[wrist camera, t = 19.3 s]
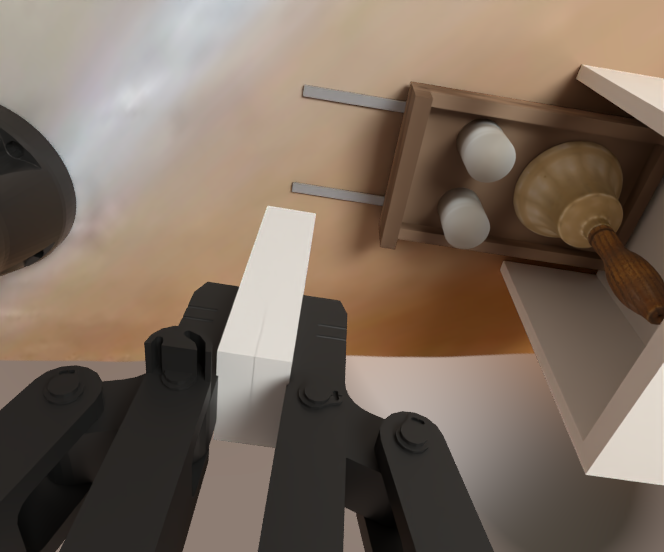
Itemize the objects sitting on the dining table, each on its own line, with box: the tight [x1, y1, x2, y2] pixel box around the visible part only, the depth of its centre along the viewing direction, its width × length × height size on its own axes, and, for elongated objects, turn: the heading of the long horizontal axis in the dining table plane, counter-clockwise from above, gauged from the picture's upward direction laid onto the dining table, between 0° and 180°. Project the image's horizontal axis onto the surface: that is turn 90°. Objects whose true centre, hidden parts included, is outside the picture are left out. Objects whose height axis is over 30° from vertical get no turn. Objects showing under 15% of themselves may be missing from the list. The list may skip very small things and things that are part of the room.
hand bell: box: [513, 141, 664, 325], centre depth 34 cm, size 8×8×16 cm
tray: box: [379, 82, 664, 271], centre depth 39 cm, size 20×12×5 cm, turn 82°
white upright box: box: [292, 65, 664, 485], centre depth 33 cm, size 29×18×22 cm, turn 82°
